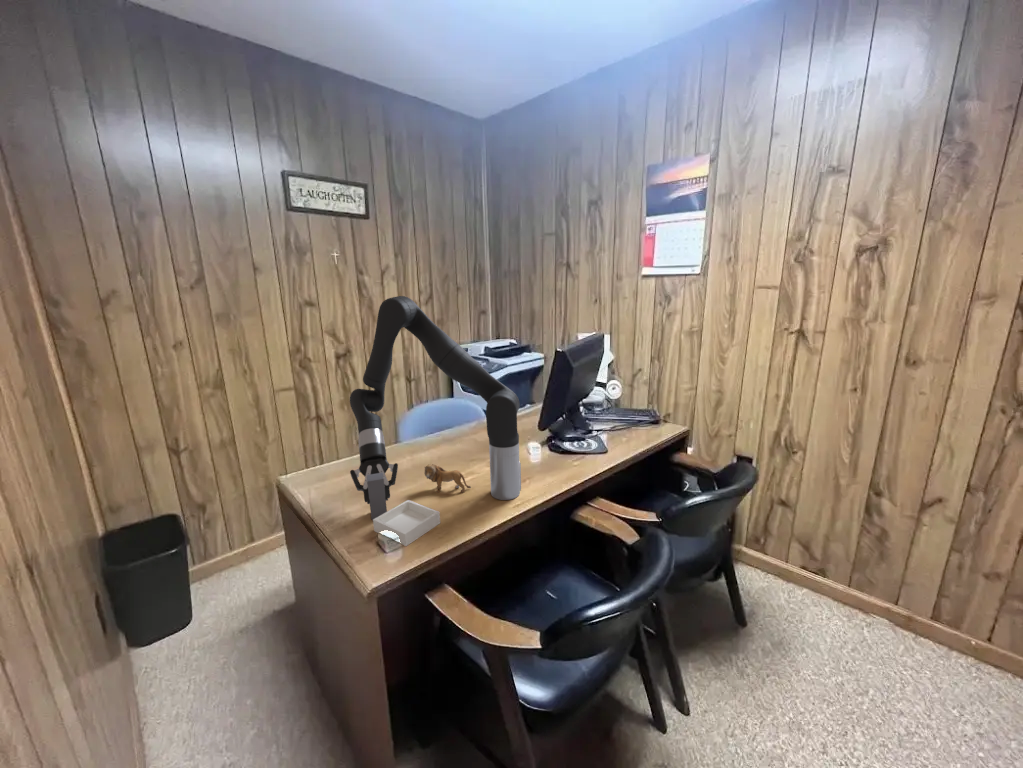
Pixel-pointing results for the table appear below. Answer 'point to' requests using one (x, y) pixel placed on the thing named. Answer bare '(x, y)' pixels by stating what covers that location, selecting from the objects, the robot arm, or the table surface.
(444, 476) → the lion figurine
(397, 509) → the tray
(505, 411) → the robot arm
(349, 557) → the table surface
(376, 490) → the handle block
